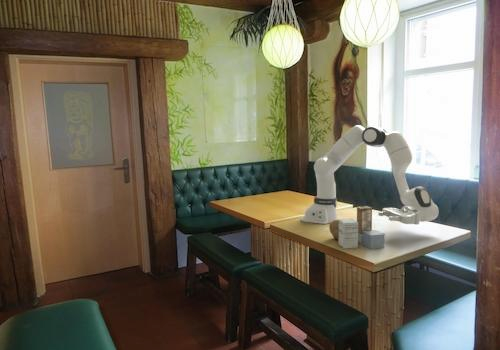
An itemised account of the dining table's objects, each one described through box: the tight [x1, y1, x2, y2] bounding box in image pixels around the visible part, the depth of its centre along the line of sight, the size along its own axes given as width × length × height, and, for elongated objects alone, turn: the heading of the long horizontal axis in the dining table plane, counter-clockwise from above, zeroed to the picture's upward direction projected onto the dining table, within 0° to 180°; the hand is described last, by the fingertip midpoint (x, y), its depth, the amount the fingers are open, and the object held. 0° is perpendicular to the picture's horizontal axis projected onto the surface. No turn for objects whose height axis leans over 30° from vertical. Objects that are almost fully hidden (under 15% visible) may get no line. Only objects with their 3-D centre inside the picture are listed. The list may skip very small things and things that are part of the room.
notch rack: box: [358, 229, 385, 250], centre depth 188 cm, size 7×16×6 cm, turn 13°
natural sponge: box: [328, 219, 339, 240], centre depth 196 cm, size 9×9×10 cm
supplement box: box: [338, 218, 359, 249], centre depth 184 cm, size 7×7×13 cm
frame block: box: [356, 205, 373, 234], centre depth 191 cm, size 6×4×13 cm
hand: (384, 216), depth 194 cm, fingers open, 8 cm apart
